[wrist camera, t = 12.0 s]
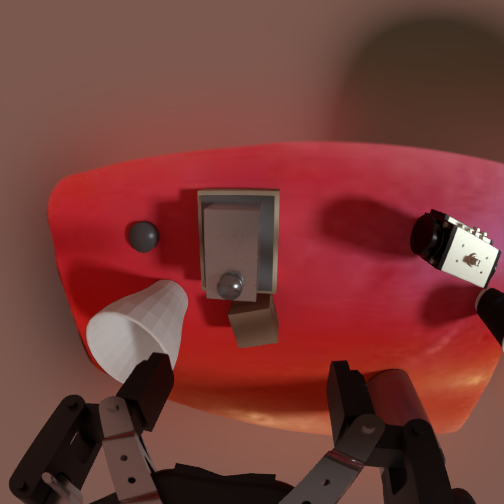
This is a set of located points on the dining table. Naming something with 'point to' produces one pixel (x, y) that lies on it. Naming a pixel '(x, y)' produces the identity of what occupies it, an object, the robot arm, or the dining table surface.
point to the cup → (138, 328)
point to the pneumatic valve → (455, 248)
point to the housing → (232, 250)
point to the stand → (268, 228)
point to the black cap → (143, 236)
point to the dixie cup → (492, 312)
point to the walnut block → (254, 321)
